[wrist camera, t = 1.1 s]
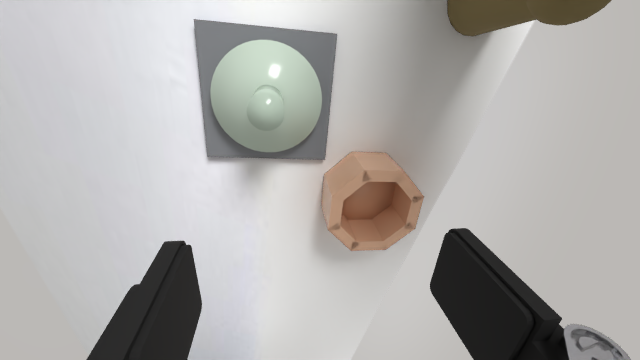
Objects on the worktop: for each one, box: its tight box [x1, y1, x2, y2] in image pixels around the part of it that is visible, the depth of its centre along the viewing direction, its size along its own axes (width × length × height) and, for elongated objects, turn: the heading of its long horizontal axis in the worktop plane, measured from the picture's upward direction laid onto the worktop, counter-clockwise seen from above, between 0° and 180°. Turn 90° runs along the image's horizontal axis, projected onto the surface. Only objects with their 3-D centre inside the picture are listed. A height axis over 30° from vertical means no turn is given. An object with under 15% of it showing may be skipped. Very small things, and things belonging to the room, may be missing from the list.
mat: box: [194, 19, 337, 160], centre depth 26 cm, size 12×12×1 cm
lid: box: [210, 40, 322, 152], centre depth 23 cm, size 10×10×6 cm
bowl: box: [321, 152, 424, 251], centre depth 30 cm, size 10×10×5 cm
